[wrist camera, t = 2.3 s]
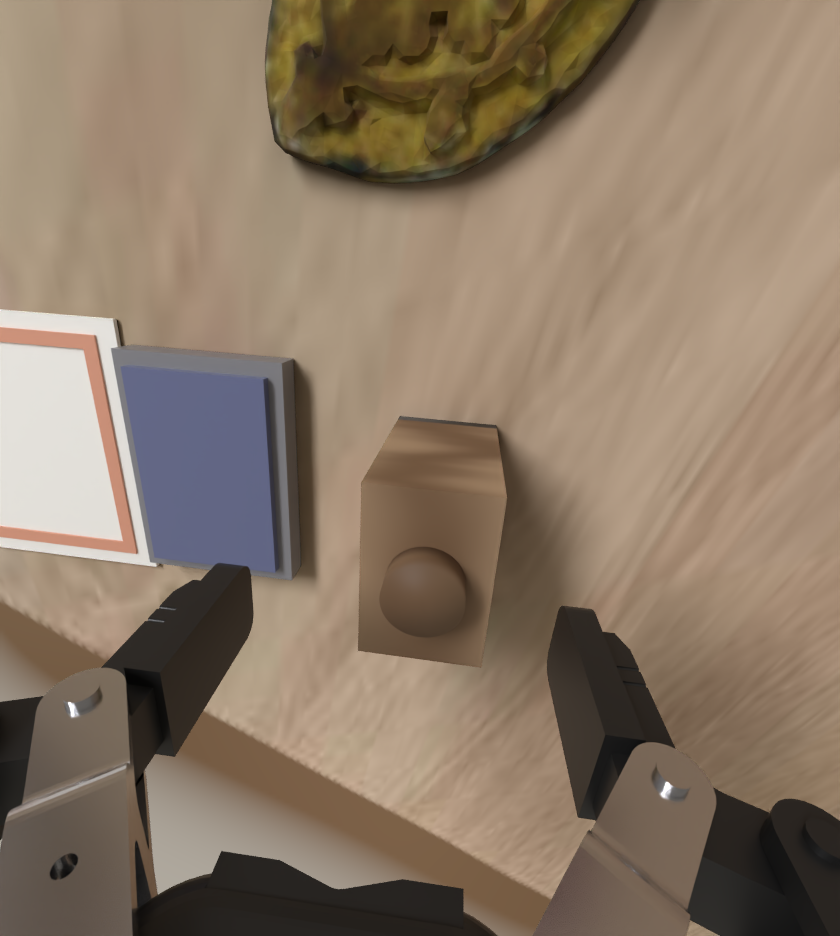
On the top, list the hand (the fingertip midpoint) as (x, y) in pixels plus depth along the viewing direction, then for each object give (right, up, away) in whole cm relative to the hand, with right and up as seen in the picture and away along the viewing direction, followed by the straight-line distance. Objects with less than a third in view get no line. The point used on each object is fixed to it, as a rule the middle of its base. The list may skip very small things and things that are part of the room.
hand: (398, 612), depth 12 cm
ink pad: (-8, +4, +9) cm, 13 cm away
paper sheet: (-17, +5, +10) cm, 20 cm away
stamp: (+2, +3, +8) cm, 9 cm away
